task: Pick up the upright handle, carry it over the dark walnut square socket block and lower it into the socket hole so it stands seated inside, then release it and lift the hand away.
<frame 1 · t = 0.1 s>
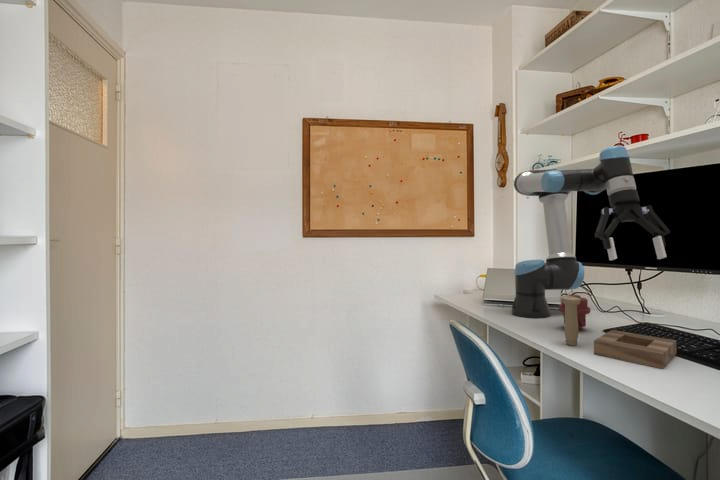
hand: (637, 258, 108), 28 cm above the table, tool tilted 20°, fingers open, 13 cm apart
socket block: (634, 354, 107), on the table
handle: (571, 344, 117), on the table
mechanical component: (574, 329, 134), on the table
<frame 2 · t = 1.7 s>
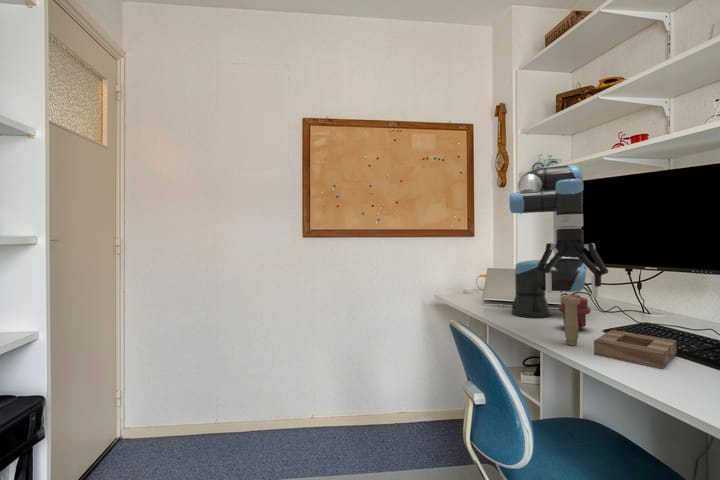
hand: (570, 294, 117), 16 cm above the table, tool pointing down, fingers open, 13 cm apart
nothing on the table moved.
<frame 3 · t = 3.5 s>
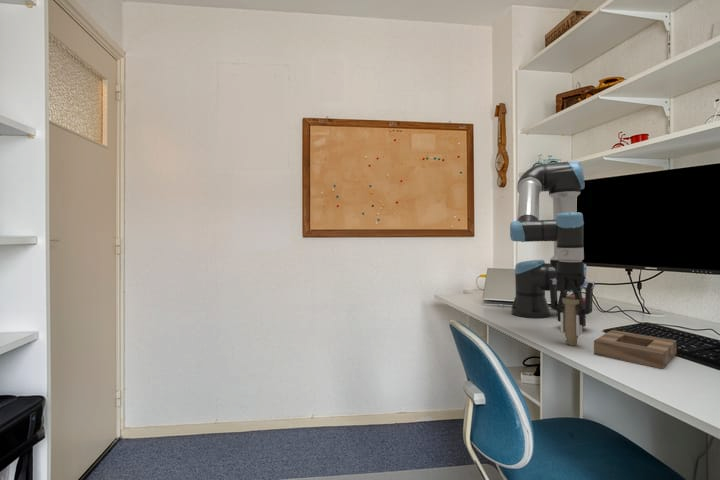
hand: (571, 333, 117), 4 cm above the table, tool pointing down, fingers closed on handle, 4 cm apart
handle: (571, 344, 117), on the table, touching gripper
everything else where it was.
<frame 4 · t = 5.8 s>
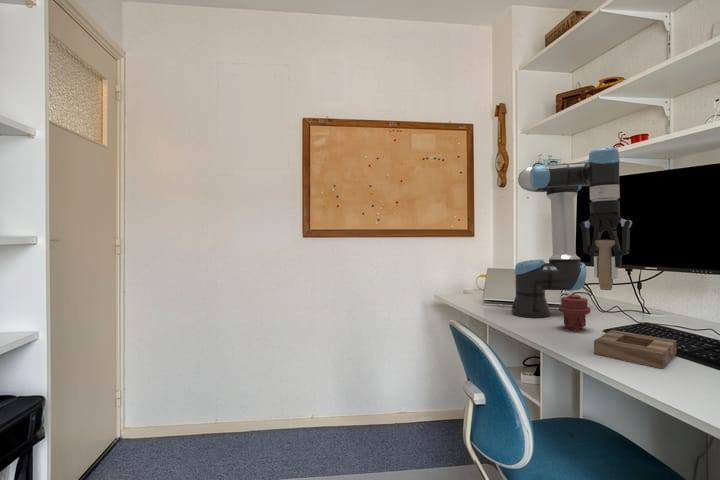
hand: (606, 277, 110), 22 cm above the table, tool pointing down, fingers closed on handle, 4 cm apart
handle: (605, 290, 110), point 18 cm above the table, touching gripper
everything else where it was.
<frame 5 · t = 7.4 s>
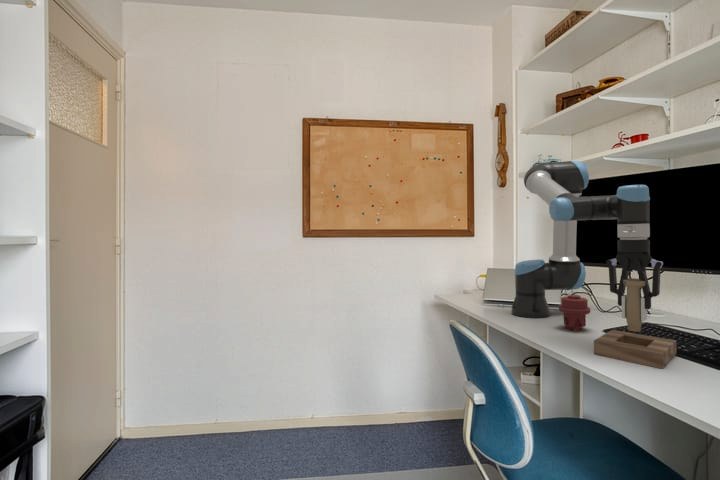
hand: (634, 318, 107), 11 cm above the table, tool pointing down, fingers closed on handle, 4 cm apart
handle: (634, 331, 107), point 7 cm above the table, touching gripper
everything else where it was.
when the fingers open (6 cm above the table, at t = 8.6 s): handle drops 2 cm, resting in socket block.
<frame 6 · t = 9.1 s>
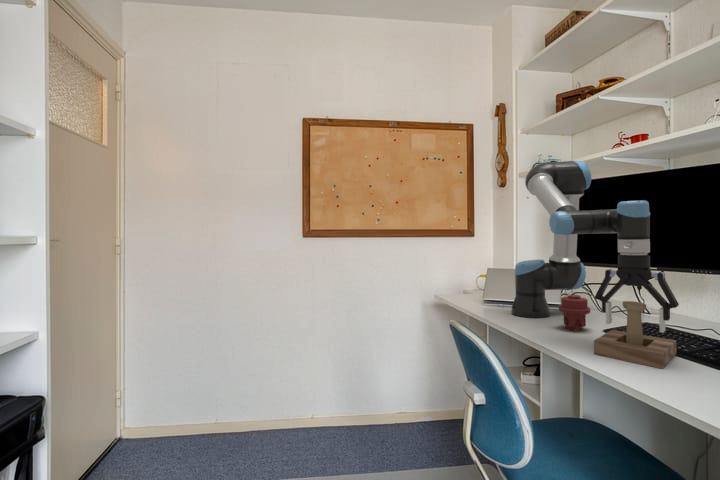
hand: (634, 327, 107), 8 cm above the table, tool pointing down, fingers open, 12 cm apart
handle: (634, 354, 107), resting in socket block
everything else where it was.
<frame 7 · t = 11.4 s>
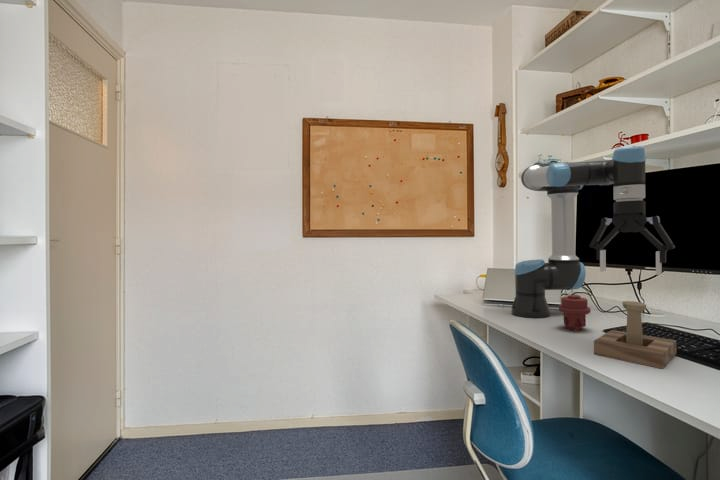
hand: (629, 272, 108), 24 cm above the table, tool pointing down, fingers open, 13 cm apart
nothing on the table moved.
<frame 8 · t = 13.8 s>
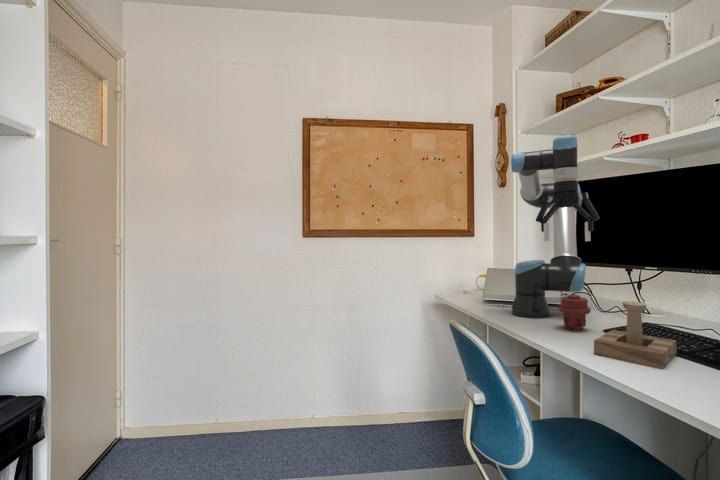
hand: (566, 241, 129), 33 cm above the table, tool pointing down, fingers open, 13 cm apart
nothing on the table moved.
at the end: handle 0.0 cm off-centre on the socket block, point 0.0 cm above the socket block's base; handle tilted 0°; the gripper is holding nothing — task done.
